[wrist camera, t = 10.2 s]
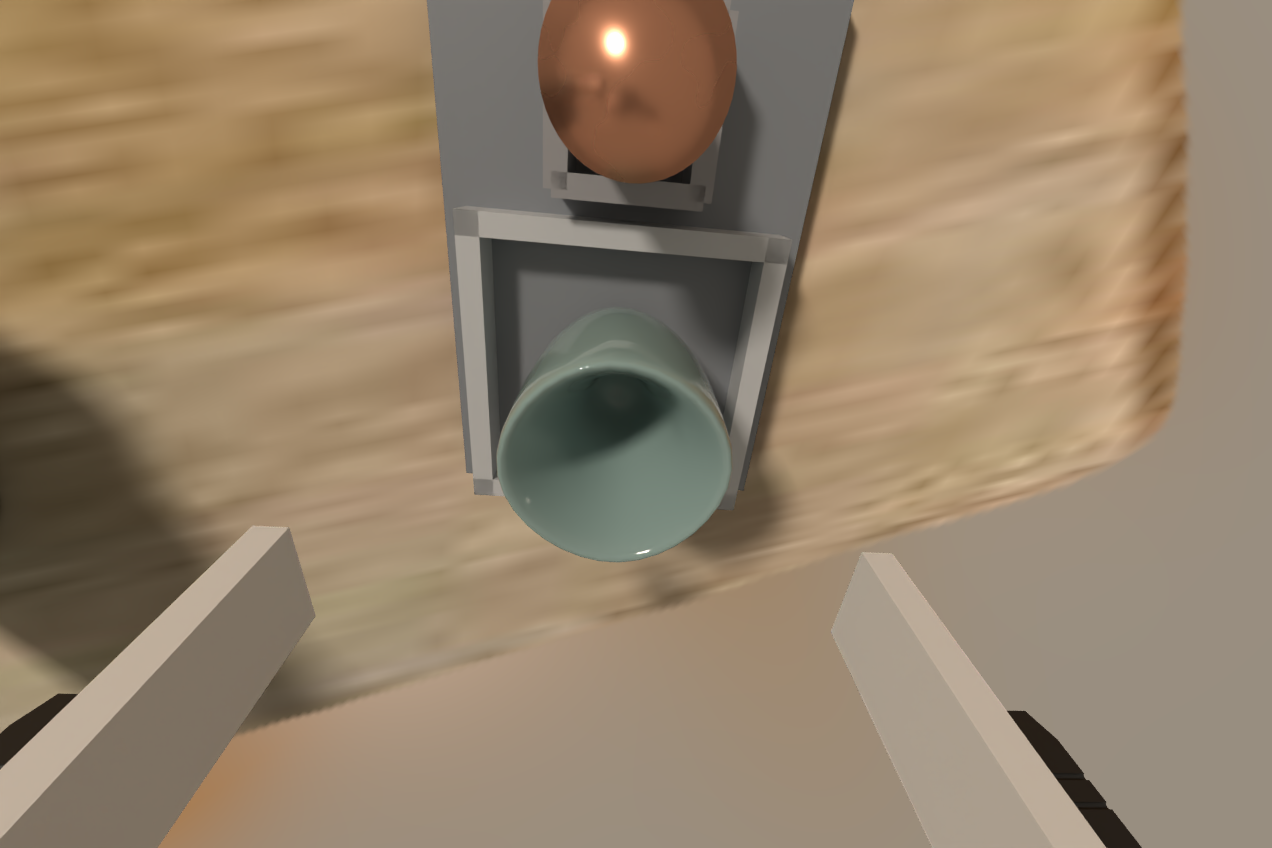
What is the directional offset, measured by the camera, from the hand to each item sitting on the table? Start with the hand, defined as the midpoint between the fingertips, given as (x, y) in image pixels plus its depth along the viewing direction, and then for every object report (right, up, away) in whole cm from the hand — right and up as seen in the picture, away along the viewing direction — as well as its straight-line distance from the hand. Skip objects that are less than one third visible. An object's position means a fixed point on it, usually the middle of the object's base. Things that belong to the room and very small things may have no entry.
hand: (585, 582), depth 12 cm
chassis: (+1, +11, +13) cm, 17 cm away
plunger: (+1, +15, +6) cm, 16 cm away
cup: (0, +7, +13) cm, 15 cm away
